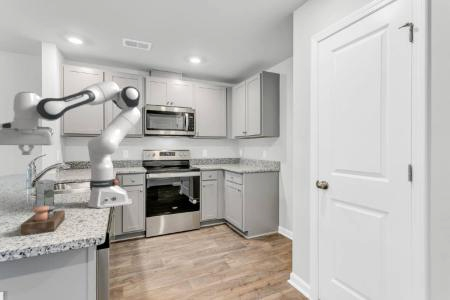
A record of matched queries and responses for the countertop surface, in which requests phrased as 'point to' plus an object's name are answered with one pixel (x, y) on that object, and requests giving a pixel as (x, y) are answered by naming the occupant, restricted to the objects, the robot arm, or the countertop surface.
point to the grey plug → (51, 210)
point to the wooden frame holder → (43, 224)
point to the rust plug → (41, 213)
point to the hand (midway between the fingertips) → (26, 154)
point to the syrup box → (44, 193)
